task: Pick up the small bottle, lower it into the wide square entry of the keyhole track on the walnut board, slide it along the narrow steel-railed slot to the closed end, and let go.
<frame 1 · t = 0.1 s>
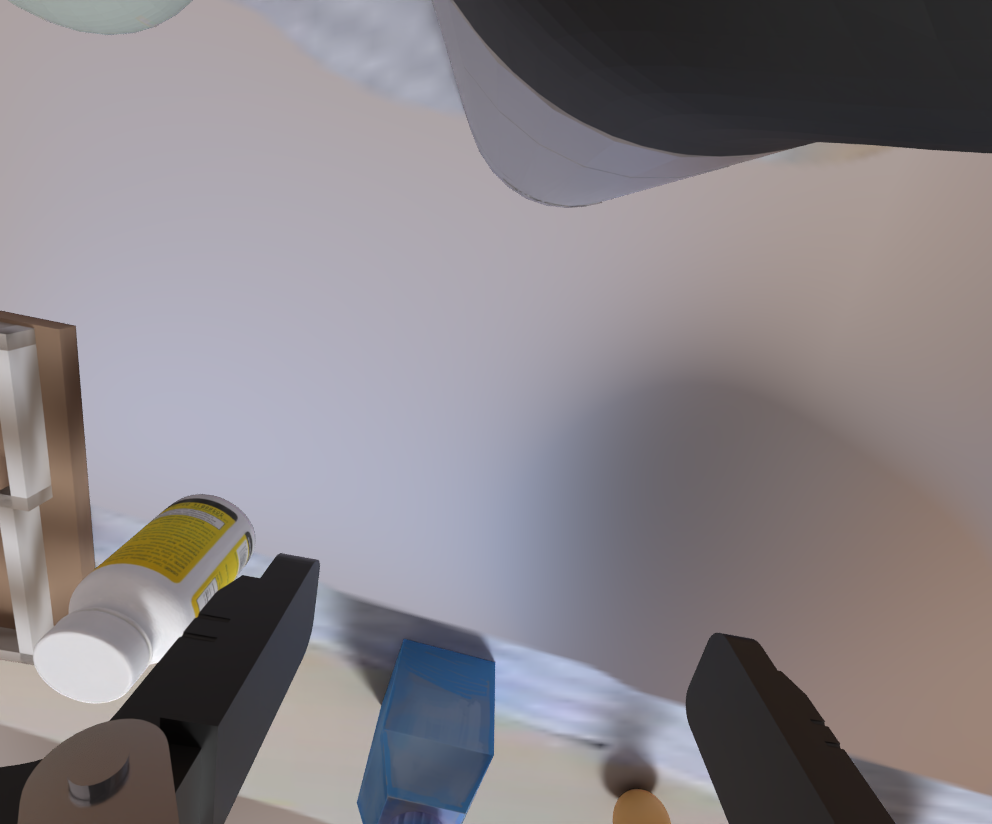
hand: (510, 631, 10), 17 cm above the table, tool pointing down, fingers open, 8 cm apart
figurine: (643, 797, 37), on the table
supplement bottle: (214, 529, 30), on the table
perfume bottle: (437, 681, 34), on the table
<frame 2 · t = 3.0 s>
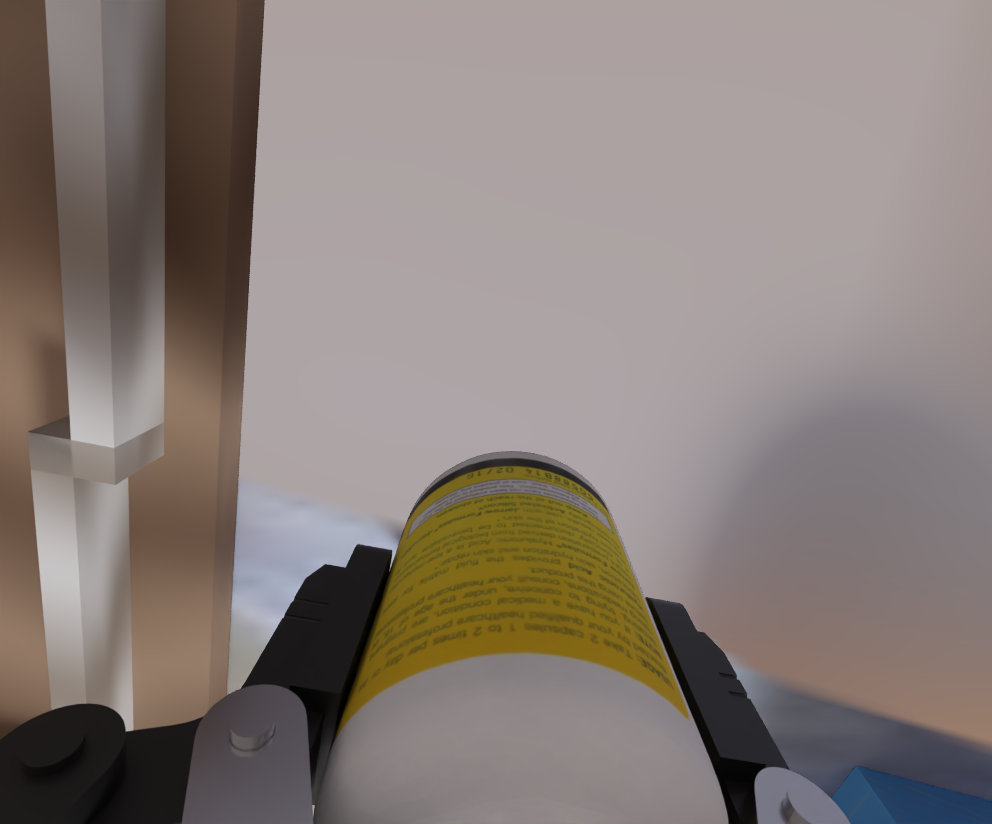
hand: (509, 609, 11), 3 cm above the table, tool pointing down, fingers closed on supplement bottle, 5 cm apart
supplement bottle: (508, 537, 13), on the table, touching gripper
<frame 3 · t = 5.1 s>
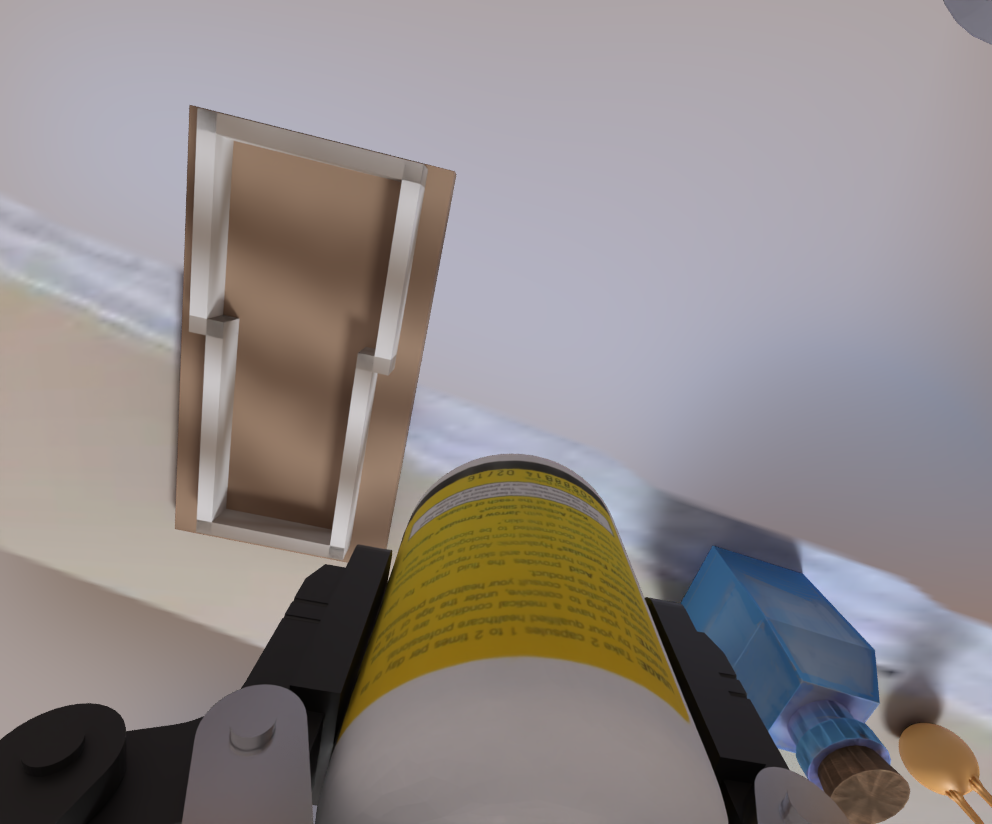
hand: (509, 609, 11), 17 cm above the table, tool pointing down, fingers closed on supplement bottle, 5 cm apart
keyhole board: (306, 366, 27), on the table
figurine: (918, 735, 35), on the table
supplement bottle: (509, 539, 13), point 15 cm above the table, touching gripper
perfume bottle: (733, 597, 32), on the table
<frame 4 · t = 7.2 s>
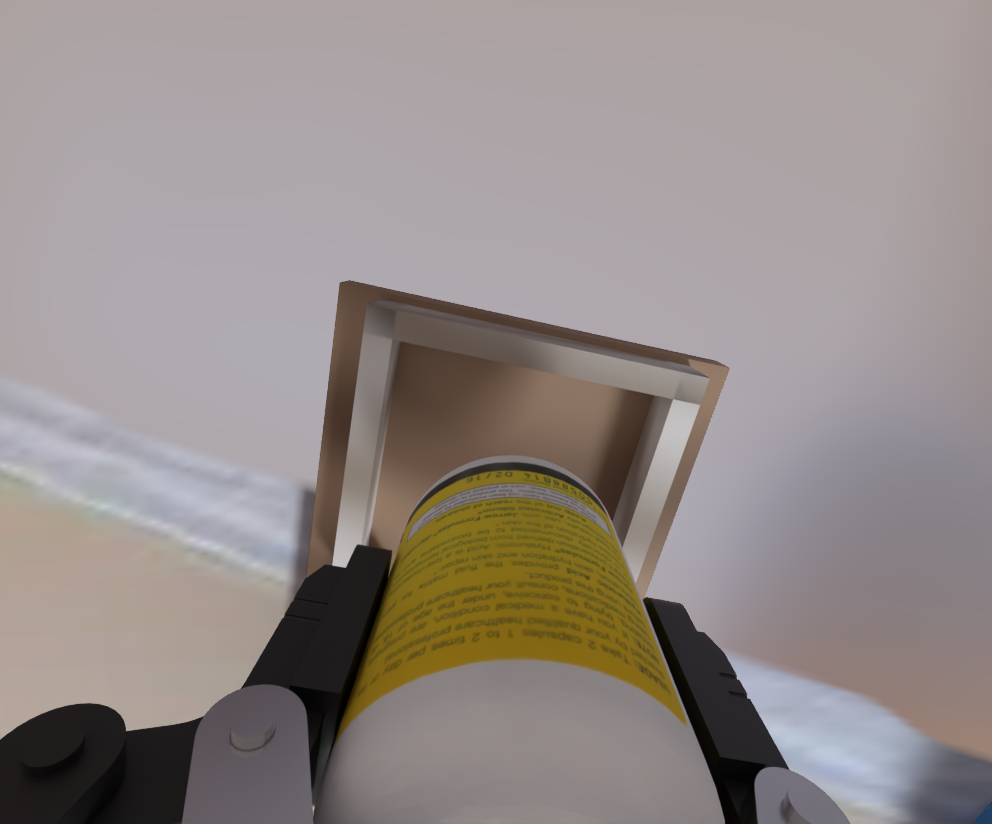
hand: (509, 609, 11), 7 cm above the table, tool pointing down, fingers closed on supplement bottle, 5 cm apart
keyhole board: (469, 601, 19), on the table
supplement bottle: (508, 540, 13), point 4 cm above the table, touching gripper
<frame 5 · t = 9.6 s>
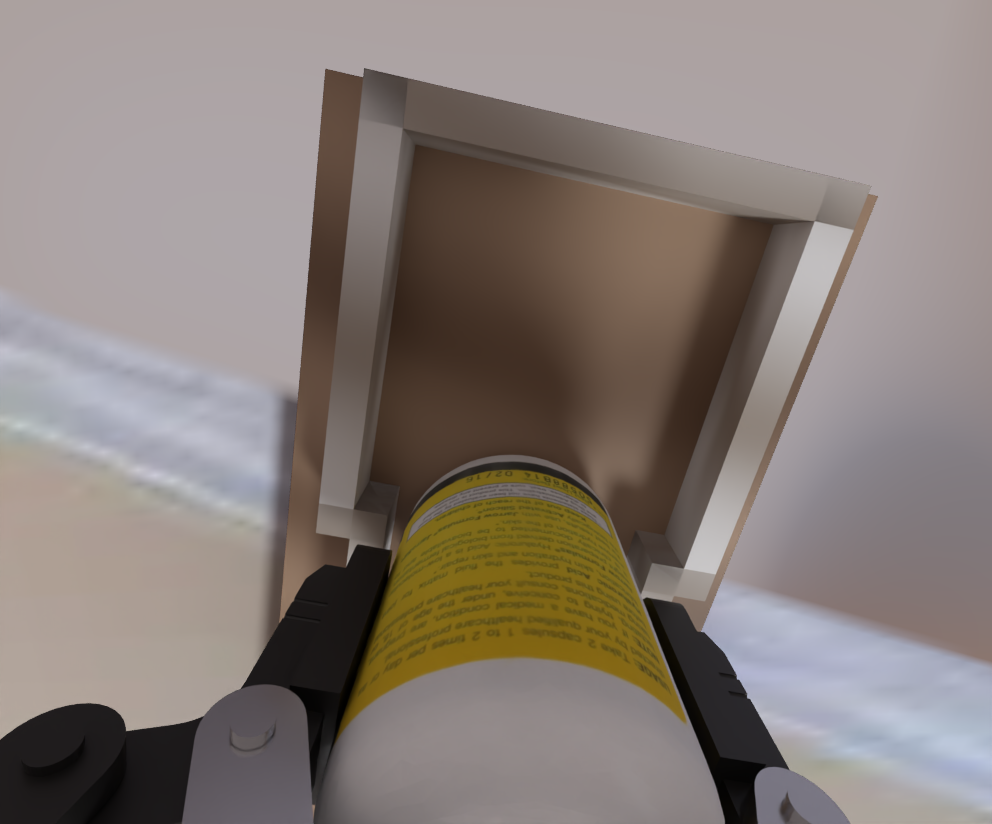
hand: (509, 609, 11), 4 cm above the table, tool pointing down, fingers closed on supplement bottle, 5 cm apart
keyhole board: (503, 550, 15), on the table
supplement bottle: (508, 540, 13), point 1 cm above the table, touching gripper
when the fingers open (4 cm above the table, at t = 11.7 s): supplement bottle stays where it is, resting on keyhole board.
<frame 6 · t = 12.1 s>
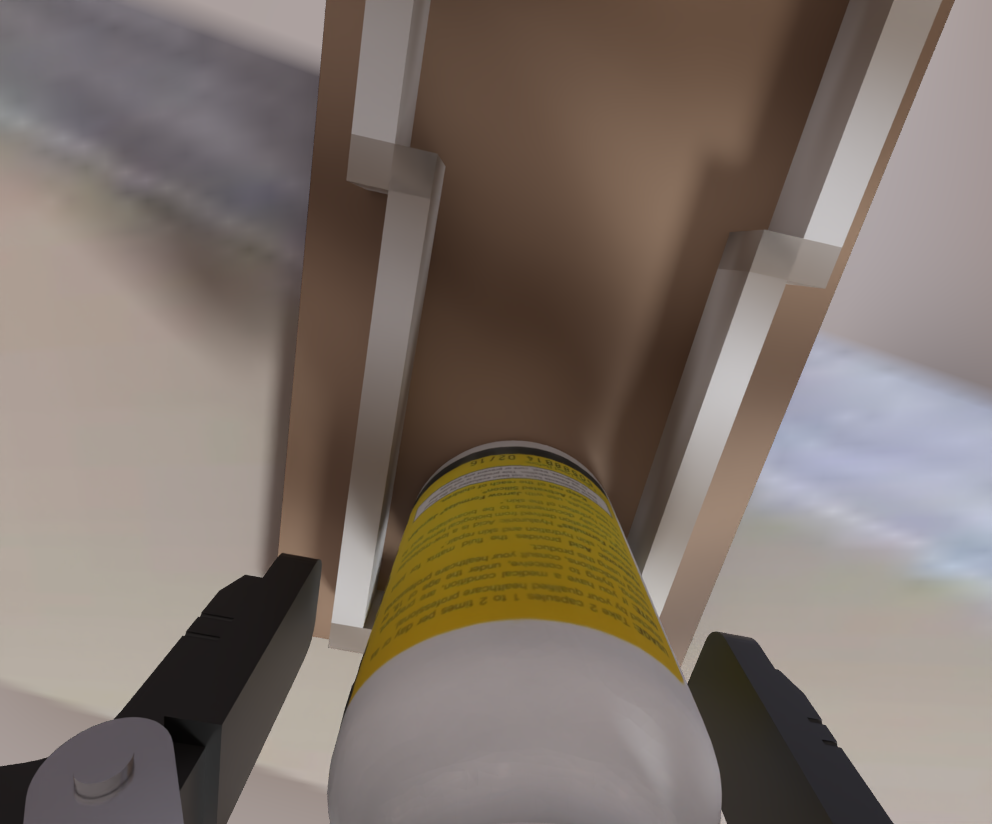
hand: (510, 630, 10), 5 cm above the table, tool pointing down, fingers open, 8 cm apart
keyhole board: (562, 288, 12), on the table
supplement bottle: (510, 525, 14), point 1 cm above the table, touching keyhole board
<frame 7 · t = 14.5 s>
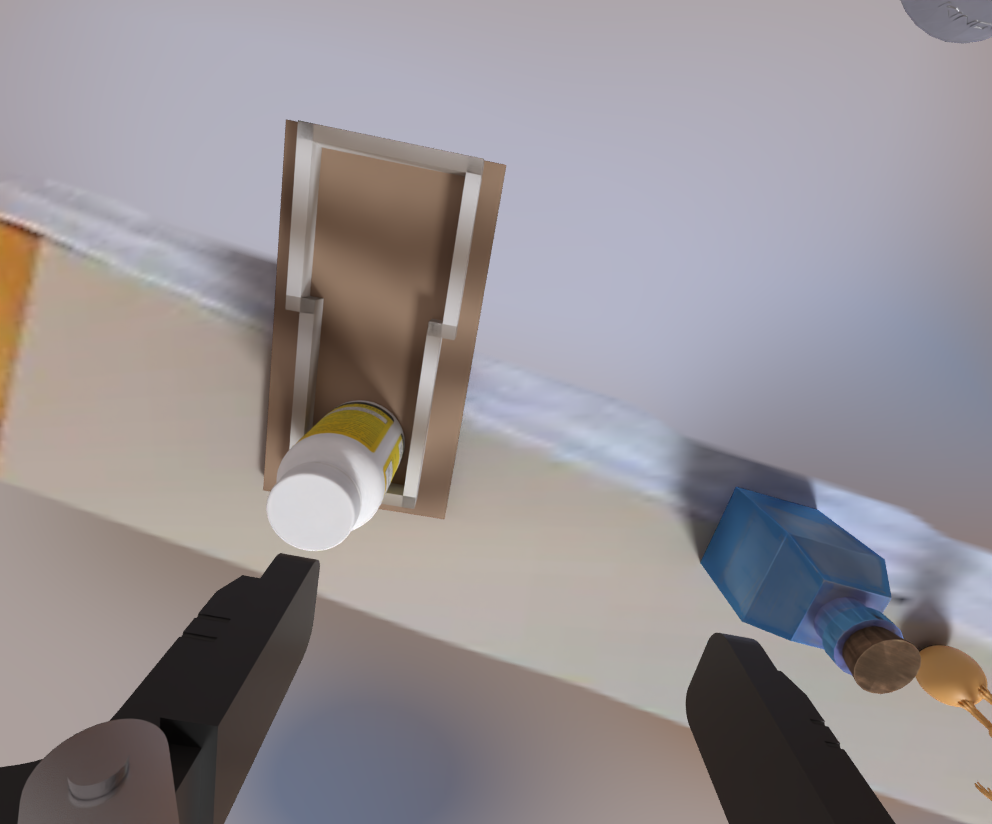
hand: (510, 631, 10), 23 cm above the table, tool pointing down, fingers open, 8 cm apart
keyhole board: (377, 339, 31), on the table
figurine: (931, 660, 39), on the table
supplement bottle: (364, 438, 32), point 1 cm above the table, touching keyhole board
perfume bottle: (756, 534, 36), on the table
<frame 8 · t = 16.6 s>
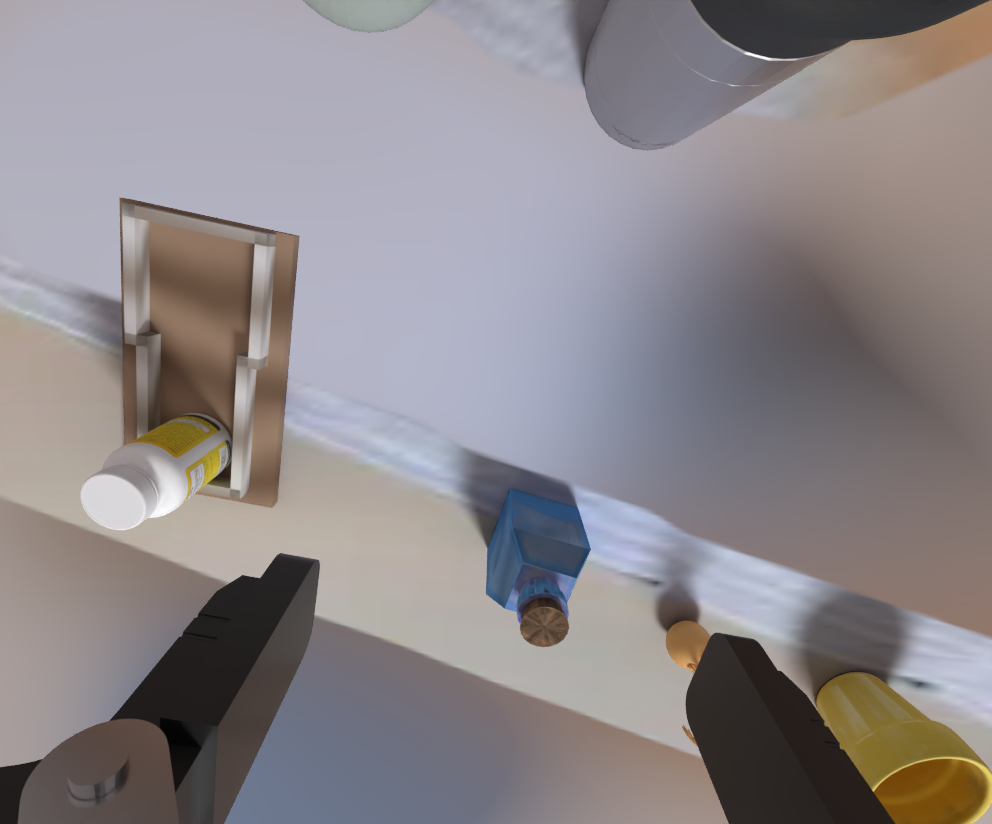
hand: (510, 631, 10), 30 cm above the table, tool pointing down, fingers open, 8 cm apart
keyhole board: (210, 364, 39), on the table
figurine: (687, 633, 47), on the table
supplement bottle: (203, 442, 40), point 1 cm above the table, touching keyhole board
perfume bottle: (532, 527, 44), on the table
plant pot: (847, 696, 50), on the table
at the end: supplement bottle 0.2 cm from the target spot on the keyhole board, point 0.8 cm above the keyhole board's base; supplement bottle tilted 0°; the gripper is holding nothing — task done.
